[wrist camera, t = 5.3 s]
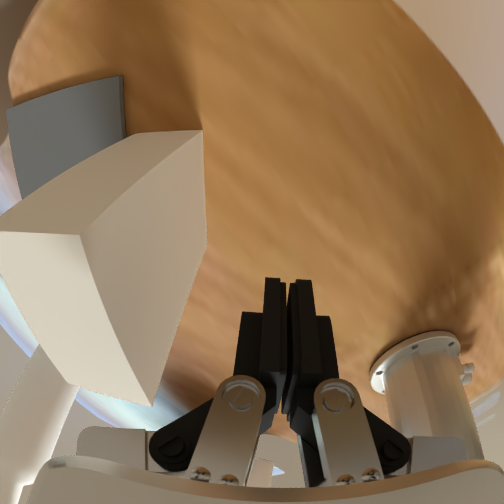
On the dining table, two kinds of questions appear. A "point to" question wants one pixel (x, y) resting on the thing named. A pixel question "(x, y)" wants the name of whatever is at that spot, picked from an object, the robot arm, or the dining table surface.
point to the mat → (64, 130)
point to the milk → (260, 473)
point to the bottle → (32, 424)
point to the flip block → (111, 260)
